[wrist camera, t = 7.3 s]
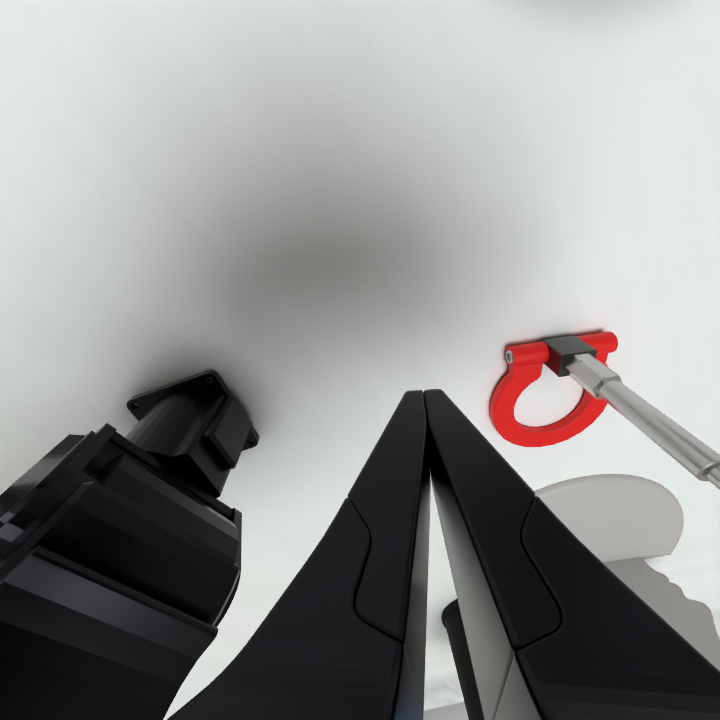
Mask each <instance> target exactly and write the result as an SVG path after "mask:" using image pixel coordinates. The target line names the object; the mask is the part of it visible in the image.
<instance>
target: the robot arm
mask: <svg viewBox="0 0 720 720" xmlns="http://www.w3.org/2000/svg"><path fill="white" fill-rule="evenodd" d="M208 377H211V378H213V381H211V380H209V379H208ZM134 403H135V404H137V405H138V406H136V405H135V404H134ZM127 408H128V409H129V410H130V411H131V413H132V414H133V415H134V416H135V417H136V419H137V420H138V421H139V422H138V423H137V425H136V426H135V427H134V428H133V429H132V430H131V431H130V432H129V434H128V435H127V436H126V437H123V436H122V435H120V434H119V433H117V432H116V430H117V429H115V428H114V427H112V426H111V425H109V424H108V423H106V424H105V425H104V426H103V427H102V428H100V429H99V430H98V431H97V432H96V433H94V432H93V431H91V432H90V433H89V434H87V435H68V436H67V437H66V438H65V439H64V440H63V441H61V442H60V443H59V444H58V445H57V446H56V447H55V448H53V449H52V450H51V451H50V452H49V453H48V454H47V455H46V456H44V457H43V458H42V459H41V460H40V461H39V462H38V463H36V464H35V465H34V466H33V467H32V468H31V469H30V470H29V471H27V472H26V473H25V474H24V475H23V476H22V477H21V478H19V479H18V480H17V481H16V482H15V483H14V484H13V485H11V486H10V487H9V488H8V489H7V490H6V491H5V492H4V493H2V494H1V495H0V720H163V719H164V717H165V715H166V713H167V711H168V709H169V707H170V705H171V703H172V701H173V699H174V698H175V696H176V694H177V692H178V690H179V688H180V686H181V685H182V683H183V682H184V680H185V679H186V677H187V675H188V674H189V672H190V671H191V669H192V668H193V666H194V665H195V663H196V661H197V660H198V659H199V657H200V656H201V655H202V654H203V652H204V651H205V650H206V649H207V648H208V646H209V645H210V644H211V643H212V641H213V640H214V639H215V637H216V635H217V633H218V628H217V626H218V625H219V623H220V622H221V620H222V619H223V617H224V615H225V614H226V612H227V610H228V608H229V606H230V604H231V602H232V600H233V598H234V595H235V593H236V590H237V587H238V584H239V580H240V574H241V528H242V513H241V512H239V511H238V510H236V509H235V508H233V509H231V508H230V507H228V506H227V505H225V504H224V503H222V502H221V501H219V500H218V499H216V498H218V497H219V496H220V494H221V492H222V489H223V487H224V484H225V482H226V479H227V477H228V474H229V472H230V469H233V468H235V467H236V464H237V462H238V459H239V456H240V454H241V451H243V450H246V449H249V448H252V447H255V446H256V445H257V444H258V441H259V437H258V435H257V433H256V432H255V430H254V429H253V427H252V426H251V425H252V423H251V421H250V420H249V418H248V417H247V415H246V413H245V412H244V410H243V409H242V407H241V406H240V404H239V403H238V401H237V399H236V398H235V397H234V396H232V395H231V393H230V392H229V390H228V389H227V387H226V385H225V384H224V382H223V381H222V379H221V378H220V376H219V375H218V374H217V373H216V372H214V371H211V370H210V371H206V372H203V373H200V374H198V375H195V376H192V377H189V378H186V379H183V380H181V381H178V382H175V383H172V384H169V385H166V386H164V387H161V388H158V389H155V390H152V391H149V392H147V393H144V394H141V395H138V396H135V397H133V398H131V399H130V400H129V401H128V402H127ZM249 439H252V440H254V441H250V440H249ZM430 474H431V480H430ZM431 481H432V487H433V492H434V496H435V501H436V505H437V510H438V514H439V518H440V523H441V527H442V532H443V536H444V541H445V545H446V550H447V554H448V559H449V563H450V567H451V572H452V576H453V581H454V585H455V590H456V594H457V599H458V603H459V608H460V612H461V616H462V621H463V625H464V630H465V634H466V639H467V643H468V648H469V652H470V657H471V661H472V666H473V670H474V674H475V679H476V683H477V688H478V692H479V697H480V701H481V706H482V710H483V715H484V719H485V720H720V671H719V670H718V669H717V668H716V667H715V666H714V665H713V664H711V663H710V662H709V661H708V660H707V659H706V658H705V657H704V656H703V655H702V654H701V653H700V652H698V651H697V650H696V649H695V648H694V647H693V646H692V645H691V644H690V643H689V642H688V641H687V640H685V639H684V638H683V637H682V636H681V635H680V634H679V633H678V632H677V631H676V630H675V629H674V628H672V627H671V626H670V625H669V624H668V623H667V622H666V621H665V620H664V619H663V618H662V617H661V616H660V615H658V614H657V613H656V612H655V611H654V610H653V609H652V608H651V607H650V606H649V605H648V604H647V603H645V602H644V601H643V600H642V599H641V598H640V597H639V596H638V595H637V594H636V593H635V592H634V591H633V590H631V589H630V588H629V587H628V586H627V585H626V584H625V583H624V582H623V581H622V580H621V579H620V578H618V577H617V576H616V575H615V574H614V573H613V572H612V571H611V570H610V569H609V568H608V567H607V566H606V565H605V564H604V563H603V562H602V561H601V560H599V559H598V558H597V557H596V556H595V555H594V554H593V553H592V552H591V551H590V550H589V549H588V548H587V547H586V546H585V545H584V544H583V543H582V542H581V541H580V540H579V539H578V538H577V537H576V536H575V535H574V534H573V533H572V532H571V531H570V530H569V529H568V528H567V527H566V526H565V525H564V524H563V523H562V522H561V520H560V519H559V518H558V517H557V516H556V515H555V514H554V513H553V512H552V511H551V510H550V509H549V508H548V506H547V505H546V504H545V503H544V502H543V501H542V500H541V499H540V497H538V496H535V492H534V491H533V490H532V489H531V488H530V487H529V486H528V484H527V483H526V482H525V481H524V480H523V479H522V478H521V477H520V476H519V475H518V473H517V472H516V471H515V470H514V469H513V468H512V467H511V466H510V465H509V464H508V462H507V461H506V460H505V459H504V458H503V457H502V456H501V455H500V454H499V452H498V451H497V450H496V449H495V448H494V447H493V446H492V445H491V444H490V443H489V441H488V440H487V439H486V438H485V437H484V436H483V435H482V434H481V433H480V431H479V430H478V429H477V428H476V427H475V426H474V425H473V424H472V423H471V422H470V420H469V419H468V418H467V417H466V416H465V415H464V414H463V413H462V412H461V411H460V409H459V408H458V407H457V406H456V405H455V404H454V403H453V402H452V401H451V399H450V398H449V397H448V396H447V395H446V394H445V393H444V392H443V391H442V390H441V389H430V390H425V391H424V393H423V391H422V390H414V391H407V392H405V394H404V396H403V398H402V399H401V401H400V403H399V405H398V406H397V408H396V410H395V412H394V414H393V415H392V417H391V419H390V421H389V422H388V424H387V426H386V428H385V430H384V431H383V433H382V435H381V437H380V438H379V440H378V442H377V444H376V446H375V447H374V449H373V451H372V453H371V454H370V456H369V458H368V460H367V462H366V463H365V465H364V467H363V469H362V470H361V472H360V474H359V476H358V478H357V479H356V481H355V483H354V485H353V487H352V488H351V490H350V492H349V494H348V498H346V499H345V500H344V502H343V504H342V506H341V508H340V509H339V511H338V513H337V515H336V516H335V518H334V520H333V521H332V523H331V525H330V526H329V528H328V530H327V531H326V533H325V534H324V536H323V538H322V539H321V541H320V542H319V544H318V545H317V547H316V548H315V549H314V551H313V552H312V554H311V555H310V557H309V558H308V560H307V561H306V563H305V564H304V565H303V567H302V568H301V570H300V571H299V572H298V574H297V575H296V576H295V578H294V579H293V581H292V582H291V583H290V585H289V586H288V588H287V589H286V590H285V592H284V593H283V594H282V596H281V597H280V599H279V600H278V601H277V603H276V604H275V606H274V607H273V608H272V610H271V611H270V612H269V614H268V615H267V617H266V618H265V619H264V621H263V622H262V624H261V625H260V626H259V628H258V629H257V630H256V632H255V633H254V635H253V636H252V637H251V639H250V640H249V641H248V643H247V644H246V645H245V647H244V648H243V649H242V650H241V651H240V653H239V654H238V655H237V656H236V657H235V659H234V660H233V661H232V662H231V663H230V664H229V665H228V666H227V667H226V668H225V669H224V671H223V672H222V673H221V674H220V675H219V676H218V677H216V678H215V679H214V680H213V681H212V682H211V683H210V684H209V685H208V686H207V687H206V688H205V689H203V690H202V691H201V692H200V693H199V694H197V695H196V696H195V697H194V698H193V699H191V700H190V701H189V702H188V703H187V704H185V705H184V706H183V707H182V708H180V709H179V710H178V711H177V712H176V713H174V714H173V715H172V716H171V717H170V718H168V719H167V720H423V709H424V678H425V647H426V616H427V585H428V555H429V524H430V493H431Z"/></svg>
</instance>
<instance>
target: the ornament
mask: <svg viewBox="0 0 720 720" xmlns="http://www.w3.org/2000/svg"><path fill="white" fill-rule="evenodd" d="M534 492H535V496H538V497H540V499H541V500H542V501H543V502H544V503H545V504H546V505H547V506H548V508H549V509H550V510H551V511H552V512H553V513H554V514H555V515H556V516H557V517H558V518H559V519H560V520H561V522H562V523H563V524H564V525H565V526H566V527H567V528H568V529H569V530H570V531H571V532H572V533H573V534H574V535H575V536H576V537H577V538H578V539H579V540H580V541H581V542H582V543H583V544H584V545H585V546H586V547H587V548H588V549H589V550H590V551H591V552H592V553H593V554H594V555H595V556H596V557H597V558H598V559H599V560H601V561H602V562H603V563H604V564H605V565H606V566H607V567H608V568H609V569H610V570H611V571H612V572H613V573H614V574H615V575H616V576H617V577H618V578H620V579H621V580H622V581H623V582H624V583H625V584H626V585H627V586H628V587H629V588H630V589H631V590H633V591H634V592H635V593H636V594H637V595H638V596H639V597H640V598H641V599H642V600H643V601H644V602H645V603H647V604H648V605H649V606H650V607H651V608H652V609H653V610H654V611H655V612H656V613H657V614H658V615H660V616H661V617H662V618H663V619H664V620H665V621H666V622H667V623H668V624H669V625H670V626H671V627H672V628H674V629H675V630H676V631H677V632H678V633H679V634H680V635H681V636H682V637H683V638H684V639H685V640H687V641H688V642H689V643H690V644H691V645H692V646H693V647H694V648H695V649H696V650H697V651H698V652H700V653H701V654H702V655H703V656H704V657H705V658H706V659H707V660H708V661H709V662H710V663H711V664H713V665H714V666H715V667H716V668H717V669H718V670H719V671H720V640H719V637H718V634H717V632H716V629H715V626H714V621H713V616H712V613H711V610H710V609H709V608H708V606H707V605H705V604H704V603H702V602H699V601H695V600H690V599H687V598H686V597H685V596H684V595H683V592H682V590H681V588H680V587H679V586H678V585H676V584H674V583H671V582H669V579H668V577H667V576H665V575H664V574H662V573H659V572H657V571H655V570H654V569H652V568H651V567H650V566H649V565H648V564H647V563H646V562H645V561H644V560H643V559H645V558H652V557H659V556H665V555H670V554H671V553H672V552H673V550H674V549H675V547H676V545H677V543H678V541H679V539H680V536H681V533H682V530H683V522H684V520H683V512H682V509H681V506H680V504H679V502H678V500H677V499H676V498H675V496H674V495H673V494H672V493H671V492H670V491H669V490H668V489H667V488H665V487H664V486H662V485H660V484H659V483H656V482H654V481H652V480H649V479H646V478H642V477H638V476H632V475H623V474H601V475H591V476H584V477H579V478H574V479H570V480H565V481H562V482H558V483H555V484H552V485H549V486H546V487H544V488H541V489H539V490H536V491H534Z"/></svg>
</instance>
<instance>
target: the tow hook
mask: <svg viewBox="0 0 720 720" xmlns="http://www.w3.org/2000/svg"><path fill="white" fill-rule="evenodd" d="M617 346H618V341H617V338H616V336H615V335H614V334H613V333H612V332H601V333H595V334H588V335H582V336H573V335H571V336H565V337H558V338H551V339H545V340H541V341H540V342H535V343H529V344H522V345H515V346H509V347H507V348H506V350H505V358H506V361H507V364H508V365H509V371H508V373H507V374H506V375H505V376H504V377H503V378H502V380H501V381H500V383H499V384H498V386H497V387H496V389H495V390H494V393H493V396H492V399H491V402H490V417H491V420H492V423H493V425H494V427H495V428H496V430H497V431H498V432H499V434H500V435H501V436H502V437H503V438H504V439H506V440H507V441H509V442H511V443H513V444H516V445H520V446H524V447H542V446H547V445H553V444H556V443H559V442H562V441H564V440H567V439H569V438H571V437H573V436H575V435H576V434H578V433H580V432H582V431H583V430H584V429H585V428H587V427H588V426H589V425H591V424H592V423H593V422H594V421H595V420H596V419H597V417H598V416H599V415H600V414H601V413H602V412H603V410H604V409H605V407H606V405H607V403H608V404H610V405H611V406H612V407H613V408H614V409H616V410H617V411H618V412H619V413H620V414H621V415H623V416H624V417H625V418H626V419H627V420H629V421H630V422H631V423H632V424H633V425H635V426H636V427H637V428H638V429H639V430H640V431H642V432H643V433H644V434H645V435H646V436H648V437H649V438H650V439H651V440H652V441H654V442H655V443H656V444H657V445H658V446H659V447H661V448H662V449H663V450H664V451H665V452H667V453H668V454H669V455H670V456H671V457H673V458H674V459H675V460H676V461H677V462H679V463H680V464H681V465H682V466H683V467H684V468H686V469H687V470H688V471H689V472H690V473H692V474H693V475H694V476H695V477H696V478H698V479H699V480H701V481H710V482H711V483H712V484H714V485H715V486H716V487H717V488H719V489H720V454H718V453H717V452H715V451H714V450H713V449H711V448H710V447H709V446H707V445H706V444H704V443H703V442H702V441H700V440H699V439H698V438H696V437H695V436H694V435H692V434H691V433H689V432H688V431H687V430H685V429H684V428H683V427H681V426H680V425H678V424H677V423H676V422H674V421H673V420H672V419H670V418H669V417H668V416H666V415H665V414H663V413H662V412H661V411H659V410H658V409H657V408H655V407H654V406H652V405H651V404H650V403H648V402H647V401H646V400H644V399H643V398H641V397H640V396H639V395H637V394H636V393H635V392H633V391H632V390H631V389H629V388H628V387H626V386H625V385H624V384H623V383H622V380H621V378H620V376H619V375H618V374H617V373H615V372H614V371H612V370H611V369H609V368H608V366H607V364H605V363H606V359H607V356H608V353H611V352H614V351H615V350H616V349H617ZM543 363H544V364H545V365H546V366H547V367H549V368H550V369H551V370H552V371H553V372H554V373H555V374H556V375H557V376H558V377H562V376H571V377H572V378H573V379H574V380H576V381H577V382H578V383H579V384H580V385H581V386H582V387H583V388H584V389H585V392H584V396H583V398H582V400H581V402H580V404H579V405H578V406H577V407H576V409H575V410H574V411H573V412H572V413H570V414H569V415H568V416H567V417H565V418H564V419H562V420H560V421H558V422H556V423H554V424H551V425H548V426H543V427H528V426H524V425H522V424H520V423H518V422H517V421H516V420H515V417H514V406H515V403H516V401H517V398H518V397H519V396H520V394H521V393H522V391H523V390H524V389H525V388H526V387H528V386H529V385H530V384H531V383H532V382H534V381H535V380H537V379H538V378H539V377H540V376H541V371H542V365H543Z"/></svg>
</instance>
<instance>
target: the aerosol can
mask: <svg viewBox="0 0 720 720" xmlns="http://www.w3.org/2000/svg"><path fill="white" fill-rule="evenodd" d="M442 622H443V625H444V626H445V628H446V629H447V633H448V637H449V641H450V645H451V649H452V653H453V657H454V661H455V665H456V669H457V673H458V677H459V681H460V685H461V689H462V693H463V697H464V702H465V706H466V709H467V713H468V717H469V720H485V719H484V715H483V710H482V706H481V701H480V697H479V692H478V688H477V683H476V679H475V674H474V670H473V666H472V661H471V657H470V652H469V648H468V643H467V639H466V634H465V630H464V625H463V621H462V616H461V612H460V608H459V603H458V600H456V601H455V602H453V603H451V604H450V605H449V606H448V607H447V608H446V609H445V611H444V613H443V615H442Z"/></svg>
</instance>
